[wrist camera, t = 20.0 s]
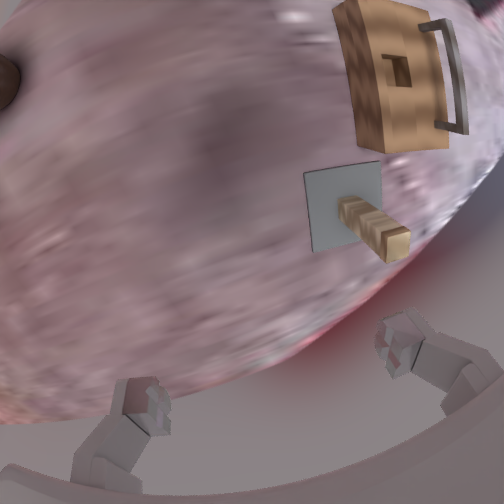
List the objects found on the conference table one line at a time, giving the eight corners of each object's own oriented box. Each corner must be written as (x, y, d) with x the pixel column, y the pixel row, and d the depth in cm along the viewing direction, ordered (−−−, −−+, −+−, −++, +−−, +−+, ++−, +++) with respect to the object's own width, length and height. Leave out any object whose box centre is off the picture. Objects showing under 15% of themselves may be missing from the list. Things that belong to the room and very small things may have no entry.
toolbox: (332, 9, 28) (380, -21, 15) (399, 19, 29) (454, 5, 16) (357, 145, 40) (414, 163, 27) (419, 140, 40) (477, 157, 28)
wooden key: (337, 198, 43) (387, 237, 30) (356, 194, 43) (410, 231, 30) (338, 219, 45) (386, 263, 31) (357, 215, 45) (408, 256, 32)
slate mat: (303, 172, 41) (304, 173, 40) (378, 160, 41) (380, 161, 41) (312, 251, 47) (313, 252, 47) (379, 233, 48) (381, 234, 47)
